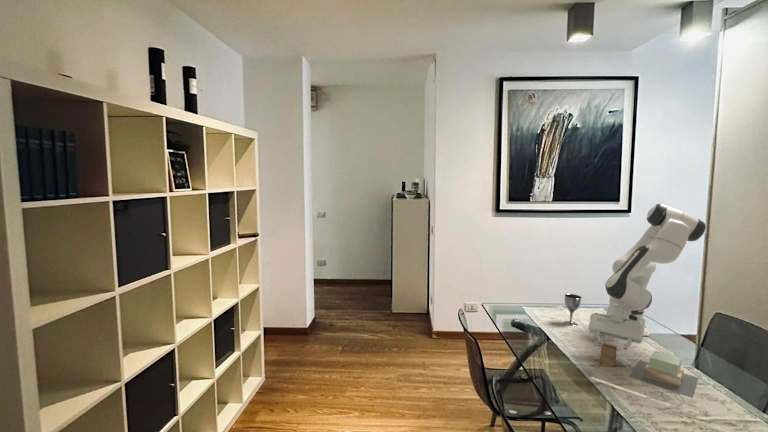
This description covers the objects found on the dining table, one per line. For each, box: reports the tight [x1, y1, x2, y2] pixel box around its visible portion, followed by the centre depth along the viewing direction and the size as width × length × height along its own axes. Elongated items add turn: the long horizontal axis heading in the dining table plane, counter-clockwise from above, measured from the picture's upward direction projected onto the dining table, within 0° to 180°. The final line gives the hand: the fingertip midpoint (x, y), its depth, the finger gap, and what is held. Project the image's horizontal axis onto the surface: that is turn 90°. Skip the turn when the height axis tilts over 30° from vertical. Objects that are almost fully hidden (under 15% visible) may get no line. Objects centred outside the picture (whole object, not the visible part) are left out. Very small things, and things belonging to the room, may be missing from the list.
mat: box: [628, 359, 700, 398], centre depth 155 cm, size 20×20×1 cm
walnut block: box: [599, 342, 618, 368], centre depth 165 cm, size 5×5×8 cm
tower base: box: [644, 360, 685, 388], centre depth 155 cm, size 11×11×4 cm
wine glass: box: [563, 293, 582, 327], centre depth 210 cm, size 8×8×15 cm
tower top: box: [649, 350, 683, 376], centre depth 154 cm, size 9×9×4 cm
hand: (612, 345), depth 167 cm, fingers open, 8 cm apart
